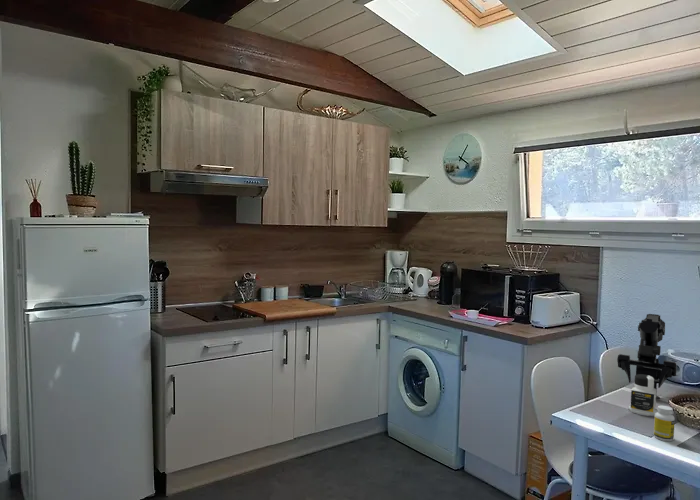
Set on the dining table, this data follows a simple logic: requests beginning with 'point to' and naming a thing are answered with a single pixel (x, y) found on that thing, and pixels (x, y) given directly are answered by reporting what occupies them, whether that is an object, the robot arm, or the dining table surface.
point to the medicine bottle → (643, 393)
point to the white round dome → (642, 412)
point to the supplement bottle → (664, 424)
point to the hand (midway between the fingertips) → (644, 384)
